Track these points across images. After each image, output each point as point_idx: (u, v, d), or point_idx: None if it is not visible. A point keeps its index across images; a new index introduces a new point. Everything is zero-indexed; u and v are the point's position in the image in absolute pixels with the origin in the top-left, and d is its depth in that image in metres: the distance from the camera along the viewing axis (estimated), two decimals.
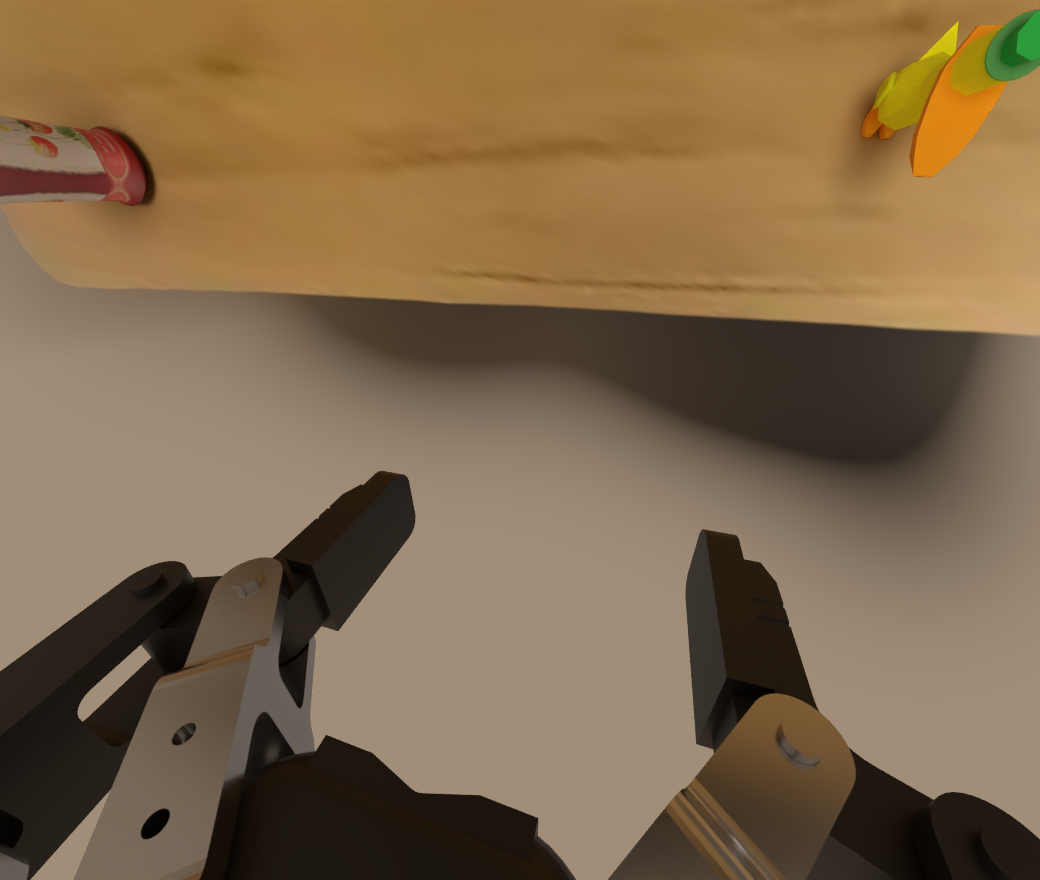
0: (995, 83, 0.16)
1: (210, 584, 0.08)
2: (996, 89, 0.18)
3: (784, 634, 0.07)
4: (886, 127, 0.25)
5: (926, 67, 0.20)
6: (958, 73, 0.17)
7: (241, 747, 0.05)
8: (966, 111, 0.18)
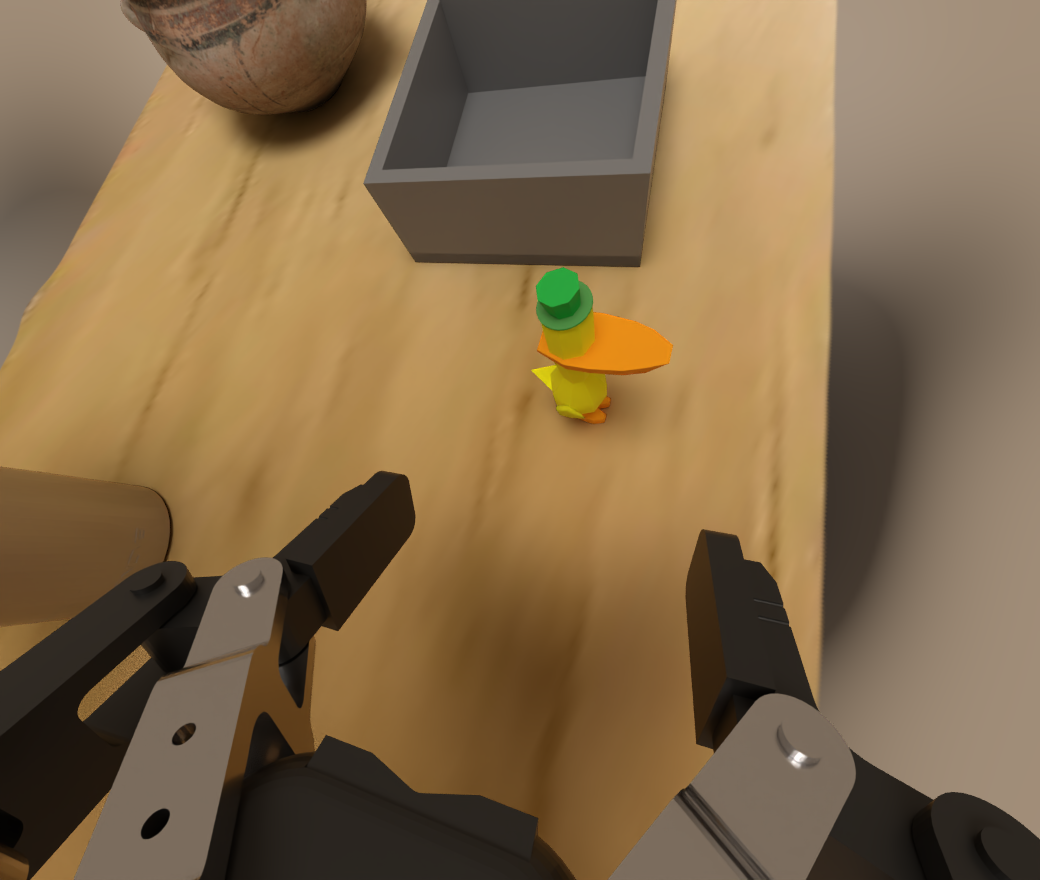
0: (592, 314, 0.15)
1: (210, 584, 0.08)
2: (595, 317, 0.17)
3: (784, 634, 0.07)
4: (600, 403, 0.24)
5: (559, 382, 0.20)
6: (573, 351, 0.16)
7: (241, 747, 0.05)
8: (610, 334, 0.16)
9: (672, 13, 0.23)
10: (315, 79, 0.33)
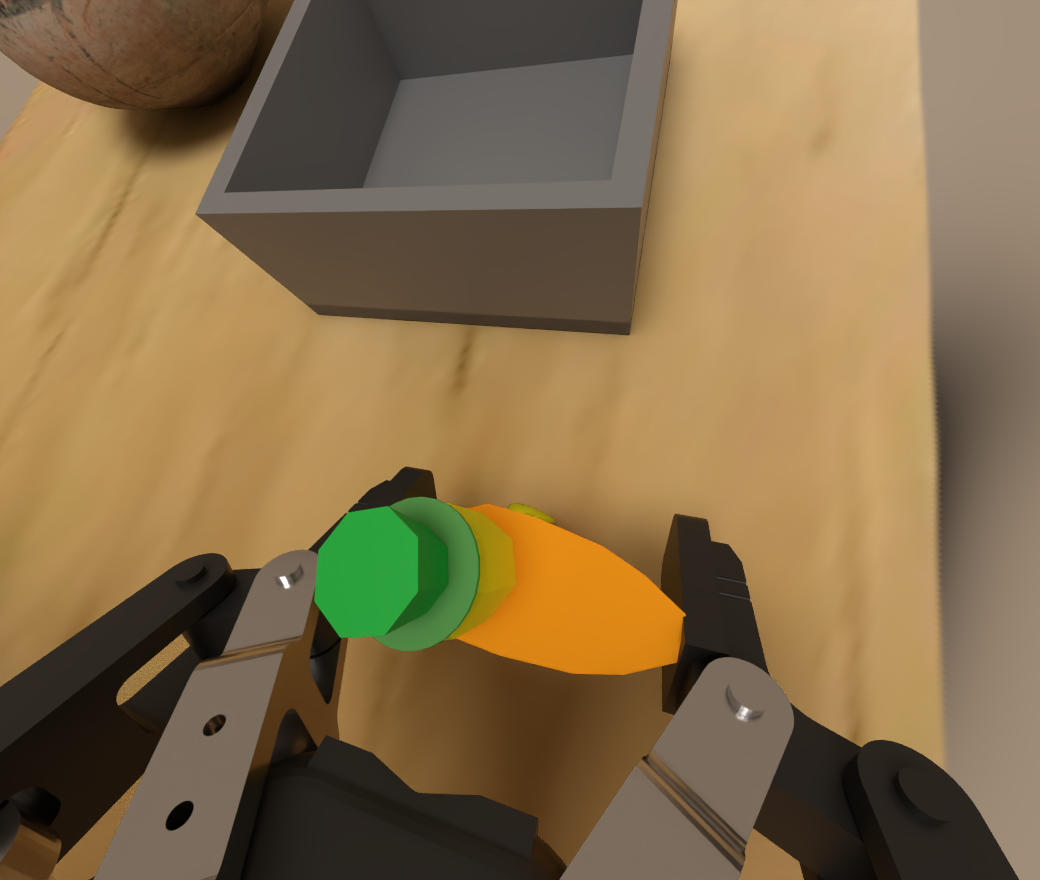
0: (483, 593, 0.06)
1: (248, 576, 0.08)
2: (519, 527, 0.08)
3: (744, 608, 0.08)
4: None
5: None
6: None
7: (266, 745, 0.05)
8: (548, 573, 0.07)
9: None
10: (191, 60, 0.24)
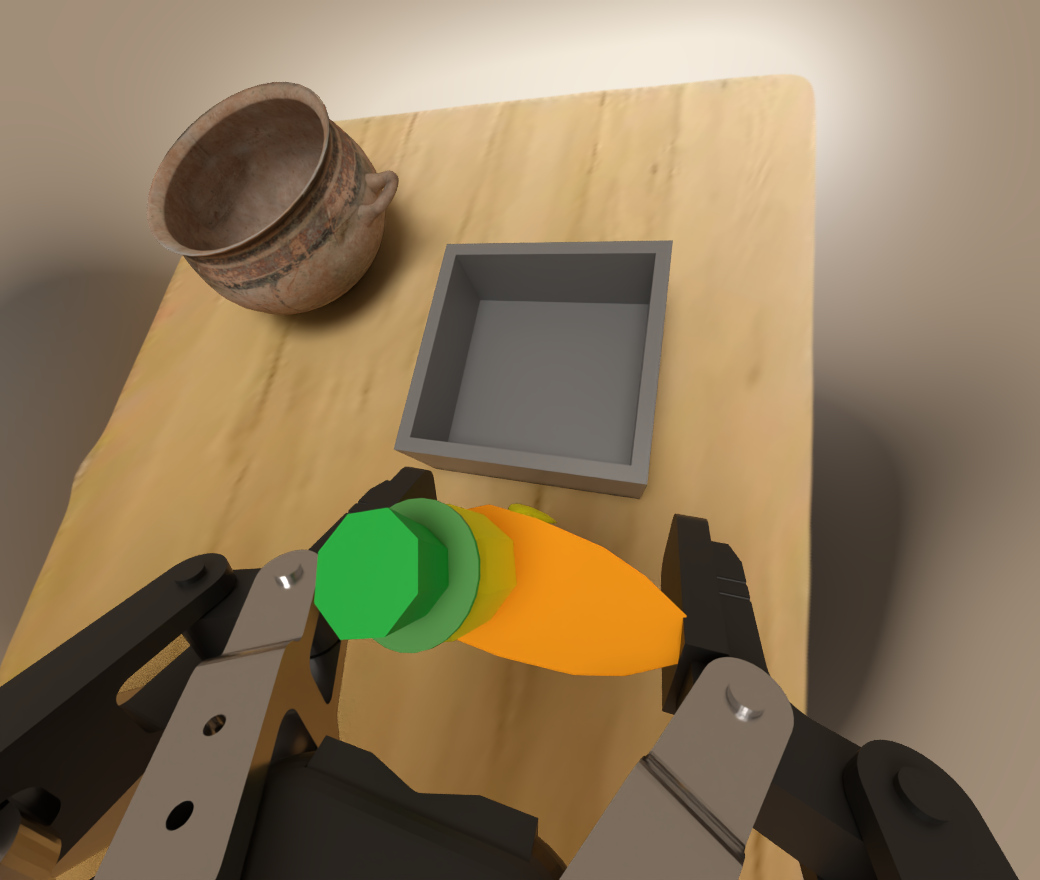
0: (484, 594, 0.06)
1: (248, 576, 0.08)
2: (519, 527, 0.08)
3: (744, 608, 0.08)
4: None
5: None
6: None
7: (266, 745, 0.05)
8: (548, 574, 0.07)
9: (664, 311, 0.26)
10: (340, 291, 0.36)
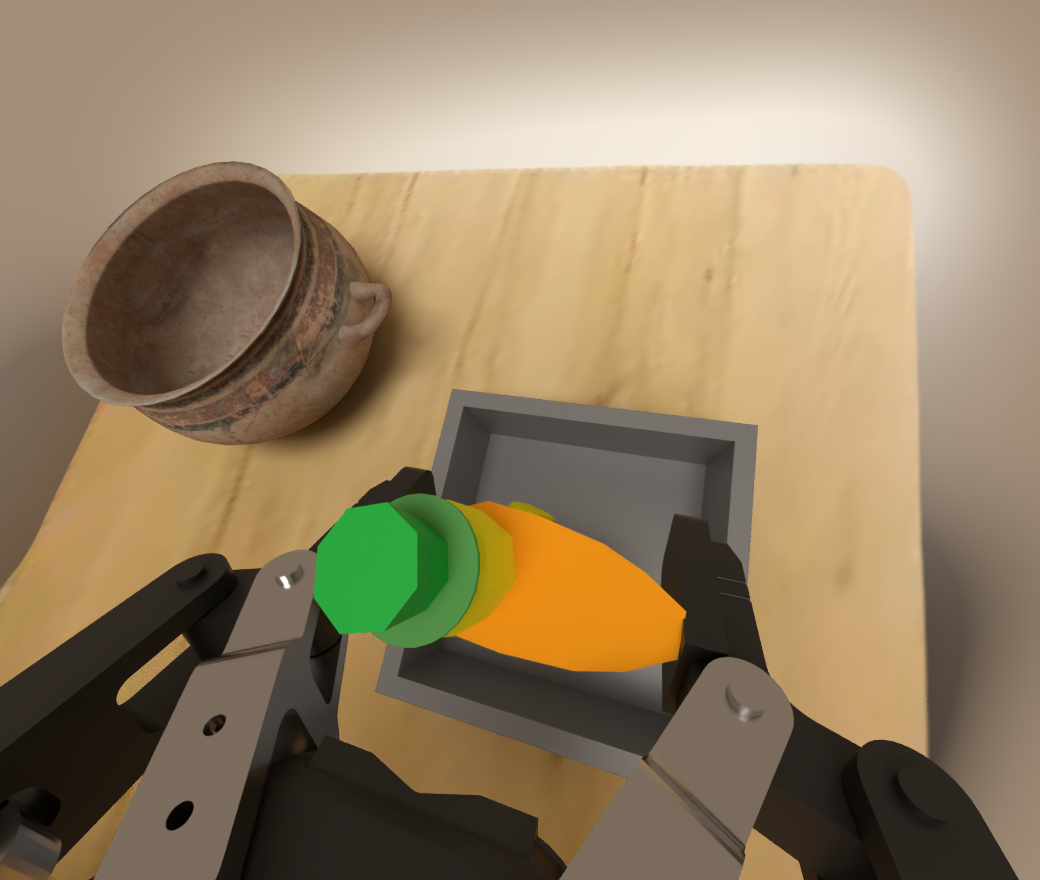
0: (483, 590, 0.06)
1: (248, 576, 0.08)
2: (519, 524, 0.08)
3: (744, 608, 0.08)
4: None
5: None
6: None
7: (266, 745, 0.05)
8: (548, 570, 0.07)
9: (749, 533, 0.19)
10: (316, 419, 0.29)
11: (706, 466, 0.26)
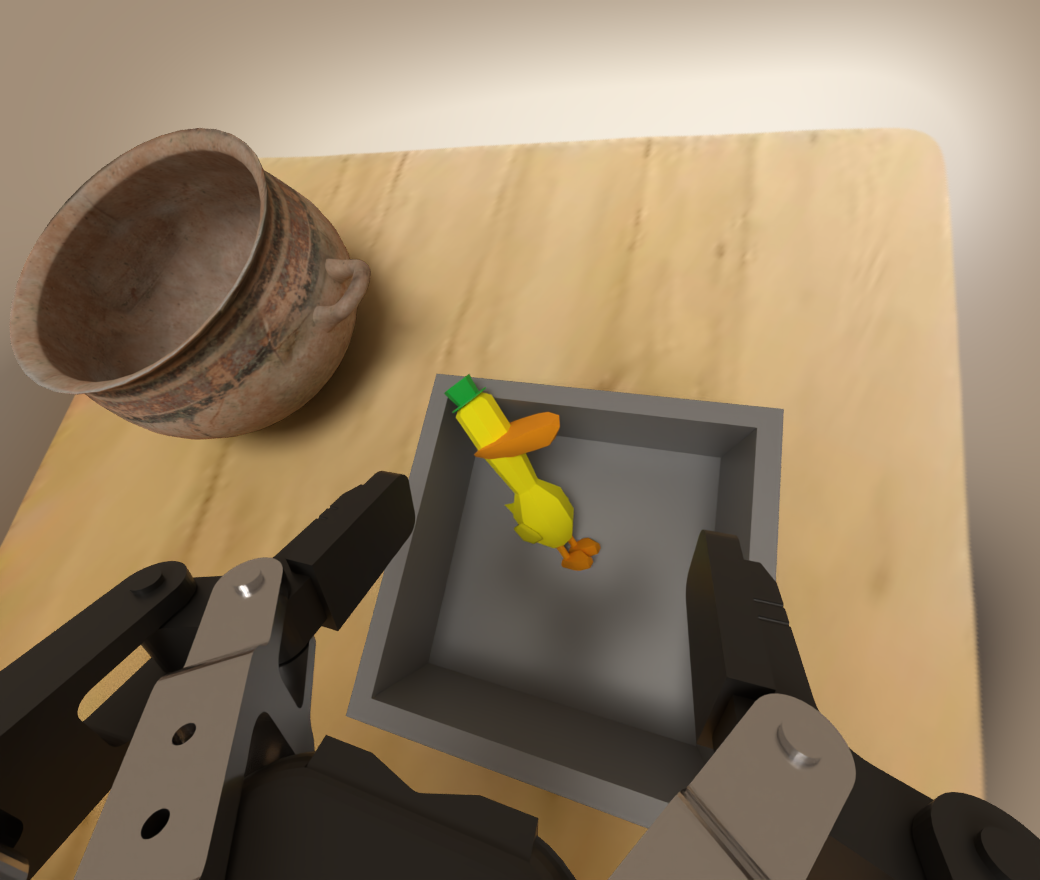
0: (485, 399, 0.19)
1: (210, 584, 0.08)
2: (514, 421, 0.20)
3: (784, 634, 0.07)
4: (585, 546, 0.22)
5: (514, 501, 0.21)
6: (482, 435, 0.19)
7: (241, 747, 0.05)
8: (518, 425, 0.20)
9: (776, 533, 0.16)
10: (293, 411, 0.27)
11: (721, 459, 0.23)
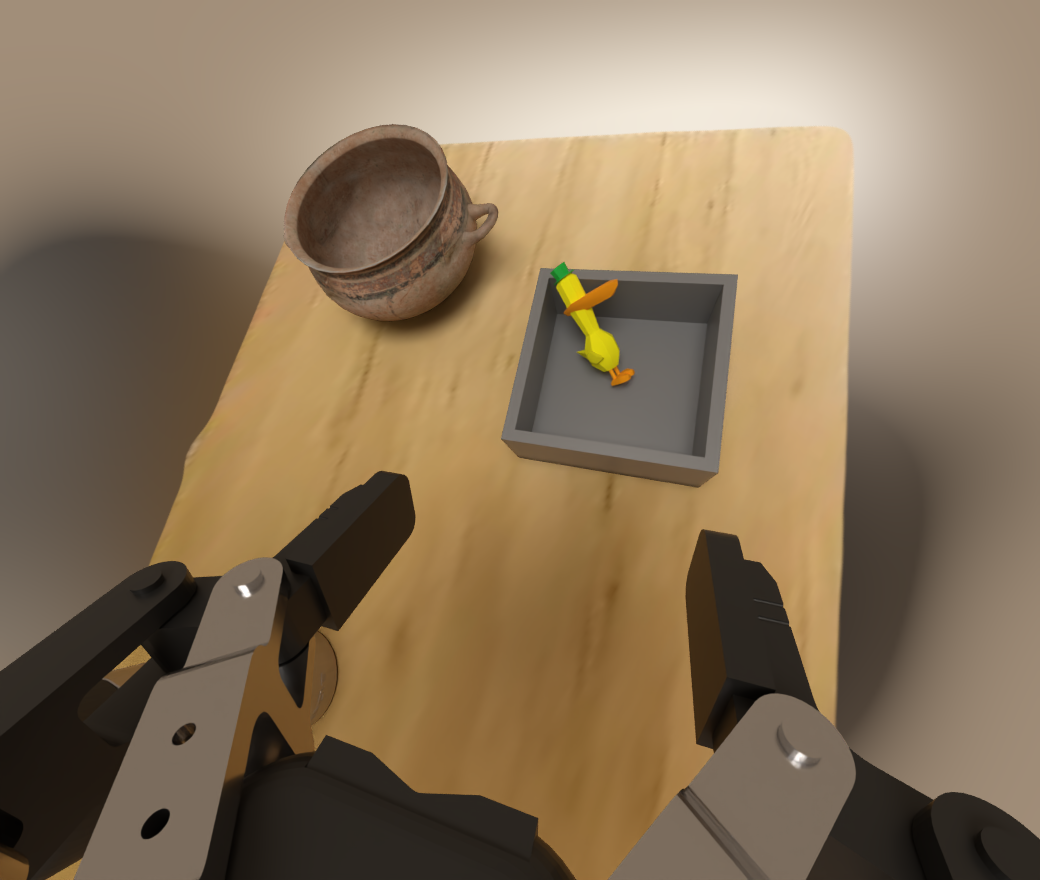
0: (574, 275, 0.35)
1: (210, 584, 0.08)
2: None
3: (784, 634, 0.07)
4: (626, 371, 0.37)
5: (585, 341, 0.37)
6: (572, 295, 0.35)
7: (241, 747, 0.05)
8: (591, 291, 0.35)
9: (731, 333, 0.32)
10: (438, 303, 0.42)
11: (707, 323, 0.38)
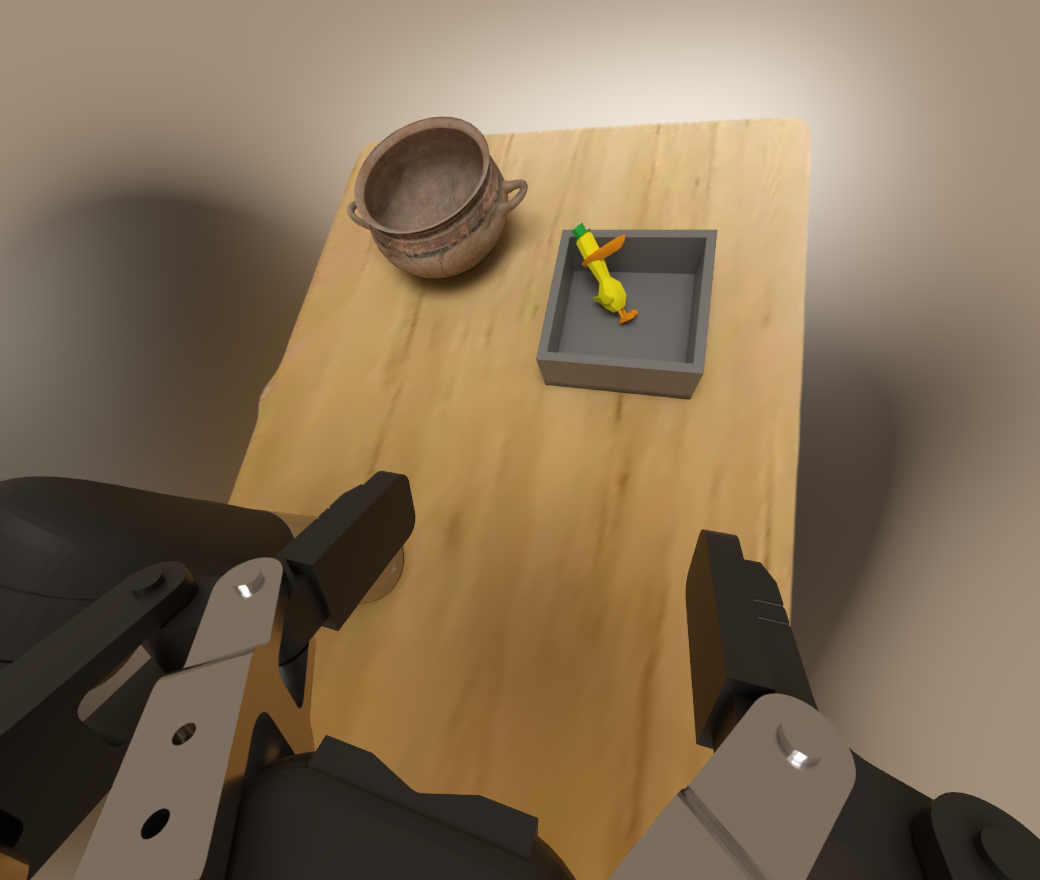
0: None
1: (210, 584, 0.08)
2: None
3: (784, 634, 0.07)
4: (631, 311, 0.47)
5: (599, 287, 0.47)
6: (589, 249, 0.44)
7: (241, 747, 0.05)
8: None
9: (712, 273, 0.41)
10: (476, 263, 0.52)
11: (695, 274, 0.48)
